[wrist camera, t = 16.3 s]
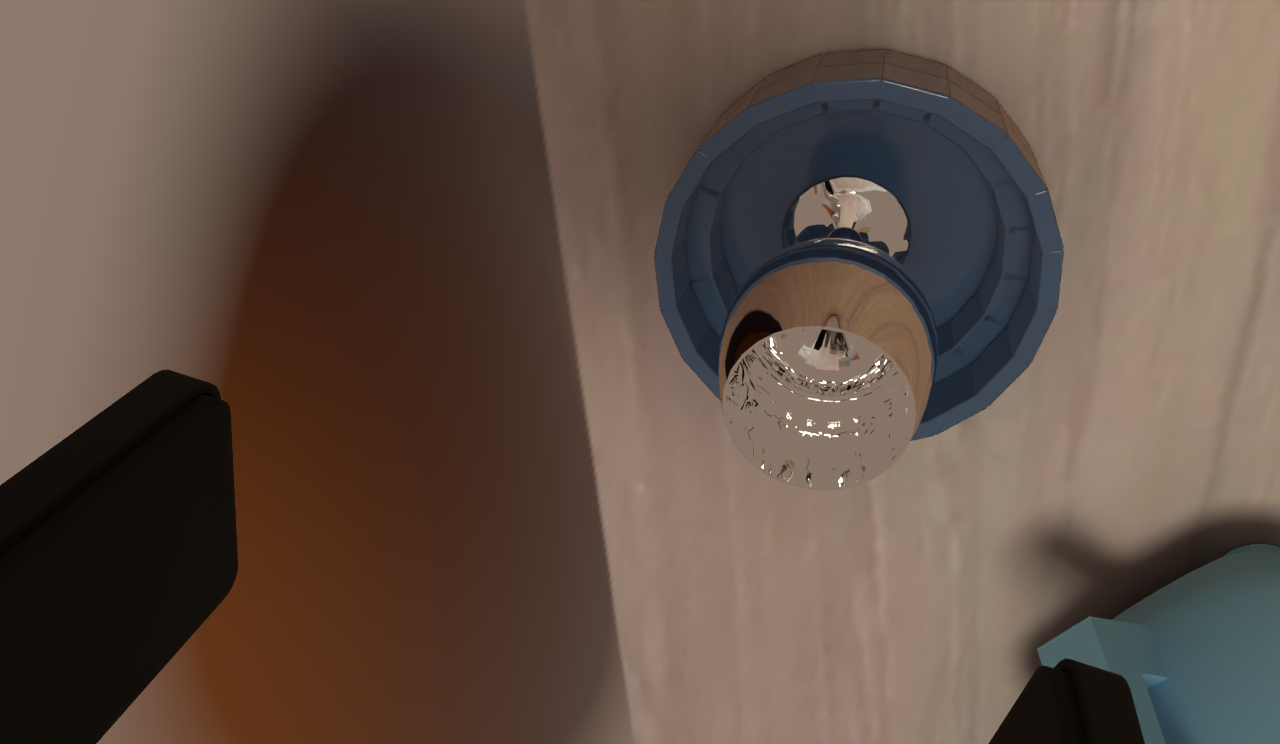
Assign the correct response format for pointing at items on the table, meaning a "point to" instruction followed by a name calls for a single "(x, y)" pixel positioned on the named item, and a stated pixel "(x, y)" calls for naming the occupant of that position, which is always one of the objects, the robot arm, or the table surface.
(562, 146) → the table surface
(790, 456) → the wineglass
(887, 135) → the bowl
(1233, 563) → the teapot
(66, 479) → the robot arm
